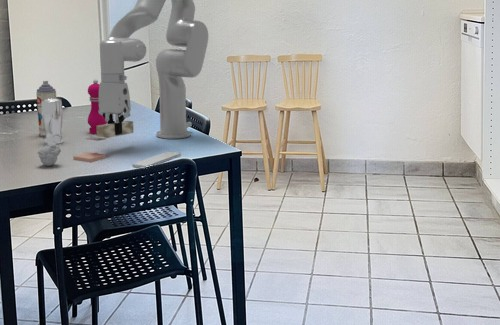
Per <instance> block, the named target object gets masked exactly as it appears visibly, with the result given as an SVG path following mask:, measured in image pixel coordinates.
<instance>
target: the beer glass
mask: <svg viewBox="0 0 500 325" xmlns="http://www.w3.org/2000/svg"><path fill="white" fill-rule="evenodd" d="M63 111H64V110H63V103H62V99H60V98H56V99H44V100H42V118H43V122H44V126H45V131H46V137H45V139H44V140H45V142H44V143H45V144H46V145H47V144H48V143H55V144H56V145H59V144H62V143H63V142H64V139H63V136H62V127H63V118H64V117H63V116H64V115H63V114H64V112H63Z"/></svg>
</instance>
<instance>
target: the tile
mask: <svg viewBox="0 0 500 325" xmlns="http://www.w3.org/2000/svg"><path fill="white" fill-rule="evenodd" d="M105 158H107V157H106V154H104V153H98V152H92V151H87V152H84V153H83V152H82V153H80V154H76V155H74V156H73V160H74V161H81V162H86V163H93V162H97V161H99V160H102V159H105Z"/></svg>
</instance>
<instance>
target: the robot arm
mask: <svg viewBox="0 0 500 325" xmlns="http://www.w3.org/2000/svg"><path fill="white" fill-rule="evenodd" d="M166 1H167V0H137V1H136V3H135V4H134V7H133V8H132V9H131V10H130V11H129V12H127V13H126V14H125V15H123V16H122V17H121V18H120V19H119V20H118V21H117V22H116V23H115V25H114V26H113V27H112V29H111V31H110V33H109V35H108V37H107V39H104V40H101V41H100V43H99V60H100V61H99V62H100V81H101V82H99V84H100V86H99V111H98V113H99V114H101V115H102V116H103V117H104V118H105V121H106V122H107V124H111V123H114V124H115V135H119V134H122V122H123V121H125V119H126V118H129V117H131V106H132V105H131V96H130V95H131V94H130V90H129V86H128V82H126V81H127V78H128V76H126V75H125V62H132V63H133V62H135V63H136V62H139V61H142V60H143V59H144V58H145V57H146V54H147V47H146V44H145V43H144V42H143V40H141V39H138V38H132V37H131V36H132V35H133V34H135V32H137V31H139V30H141V29H143V28H145V27H149V25H152V24H154V23H155V22H157V21H158V18H159V16H160V15H161V12H162V9H163V8H164V5H165V4H166ZM170 1H171V9H170V14H169V18H168V19H169V20H168V24H167V29H166V33H165V34H166V35H165V38H166V42H167V43H168V44H169V45H171V46H172V47H177V48H178V47H180V48H185V49H177V48H176V49H175V48H166V49H163V50H161V51H160V52H158V54H157V56H156V58H155V68H156V72H157V77H158V85H159V87H158V88H159V121H160V122H159V127H160V130H158V131H157V132H156V133H155V136H156V137H157V138H161V139H169V140H172V139H173V140H175V139H176V140H177V139H185V138H189V137H191V131H189V130H188V128H190V127H192V125H193V124H192V122H191V121H187V103H186V102H187V95H186V94H187V92H186V84H185V81H184V79H183V78H190V79H191V78H196V77H197V76H199V75H200V74H201V71H202V69H203V67H204V66H203V65H204V62H205V61H204V60H205V56H206V53H207V47H208V43H209V30H208V29H209V28H208V27H207V25H206V24H205V23H204V22H202V21H200V20H195V13H196V6H195V2H194V0H170ZM130 37H131V38H130ZM114 115H115V116H114ZM114 118H115V119H114Z"/></svg>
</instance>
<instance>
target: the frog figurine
mask: <svg viewBox="0 0 500 325" xmlns="http://www.w3.org/2000/svg"><path fill="white" fill-rule="evenodd" d="M61 150H62V147H61V146H60V145H59V144H55V143H48V144H46V145H44V146H43V147H41V148H40V149H38V150H37V155H38V158H39V160H40V163H41V164H42V165H44V166H48V167H51V166H54V165H55V164H56V163H57V161H58V156H59V155H60V153H61V152H62V151H61Z"/></svg>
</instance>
